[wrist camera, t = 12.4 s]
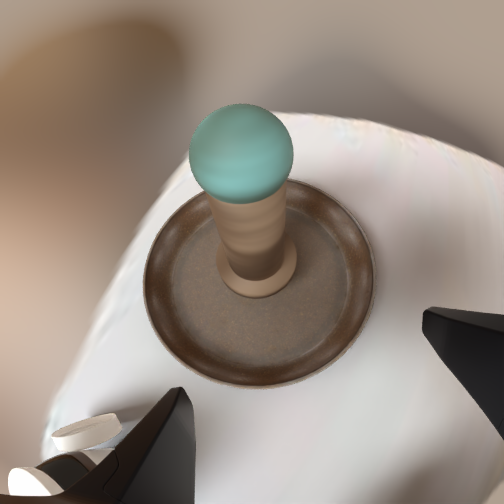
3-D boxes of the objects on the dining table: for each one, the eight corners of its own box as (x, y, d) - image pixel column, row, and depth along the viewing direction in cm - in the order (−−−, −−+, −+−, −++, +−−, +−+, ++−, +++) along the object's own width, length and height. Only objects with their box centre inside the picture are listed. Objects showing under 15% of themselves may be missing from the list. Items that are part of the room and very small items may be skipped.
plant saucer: (406, 312, 22) (421, 299, 19) (206, 428, 19) (194, 432, 16) (294, 173, 32) (294, 152, 29) (136, 246, 29) (123, 229, 26)
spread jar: (125, 533, 12) (52, 567, 2) (57, 452, 16) (-26, 447, 7) (197, 482, 16) (129, 532, 6) (113, 393, 20) (19, 371, 10)
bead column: (311, 261, 22) (341, 111, 10) (255, 315, 20) (223, 188, 8) (258, 217, 25) (241, 72, 12) (203, 262, 23) (138, 124, 11)
